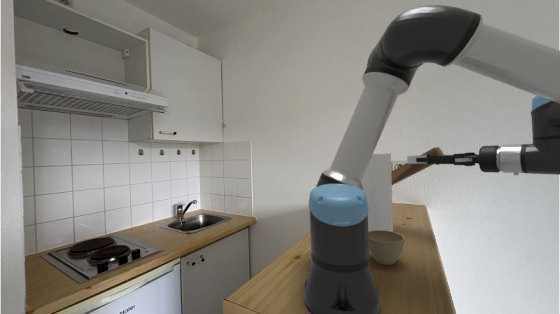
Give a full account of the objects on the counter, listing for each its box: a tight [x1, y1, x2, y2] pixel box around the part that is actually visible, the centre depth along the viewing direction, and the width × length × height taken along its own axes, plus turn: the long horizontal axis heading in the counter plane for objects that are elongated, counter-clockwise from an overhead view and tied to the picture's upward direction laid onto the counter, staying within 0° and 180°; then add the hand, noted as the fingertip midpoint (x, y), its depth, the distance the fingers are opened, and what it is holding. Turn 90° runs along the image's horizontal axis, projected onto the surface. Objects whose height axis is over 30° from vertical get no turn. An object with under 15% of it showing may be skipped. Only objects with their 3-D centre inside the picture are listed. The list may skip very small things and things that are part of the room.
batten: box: [391, 147, 446, 186], centre depth 82 cm, size 4×24×4 cm, turn 34°
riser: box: [361, 152, 394, 232], centre depth 82 cm, size 10×14×30 cm
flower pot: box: [368, 230, 405, 266], centre depth 63 cm, size 10×10×7 cm
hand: (411, 159), depth 81 cm, fingers closed on batten, 4 cm apart
